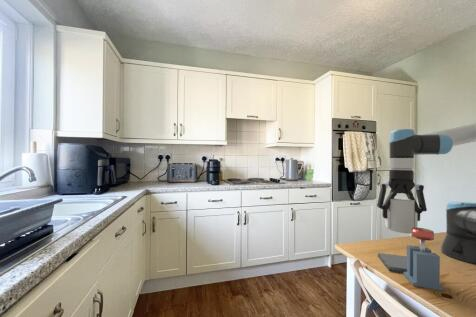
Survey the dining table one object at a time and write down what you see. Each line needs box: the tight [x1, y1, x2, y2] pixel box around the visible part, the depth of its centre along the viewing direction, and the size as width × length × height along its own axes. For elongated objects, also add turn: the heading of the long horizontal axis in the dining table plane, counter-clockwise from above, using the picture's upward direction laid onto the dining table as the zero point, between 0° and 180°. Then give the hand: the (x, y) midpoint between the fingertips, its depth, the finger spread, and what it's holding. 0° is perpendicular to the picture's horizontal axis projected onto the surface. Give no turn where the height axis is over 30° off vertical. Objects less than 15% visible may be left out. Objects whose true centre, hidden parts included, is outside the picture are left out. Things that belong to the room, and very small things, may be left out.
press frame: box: [402, 245, 445, 291], centre depth 71 cm, size 8×7×10 cm
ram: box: [411, 226, 435, 252], centre depth 71 cm, size 6×6×10 cm
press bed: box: [377, 252, 407, 274], centre depth 82 cm, size 12×12×2 cm
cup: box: [387, 196, 416, 235], centre depth 82 cm, size 8×8×12 cm
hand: (400, 227), depth 82 cm, fingers closed on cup, 8 cm apart
